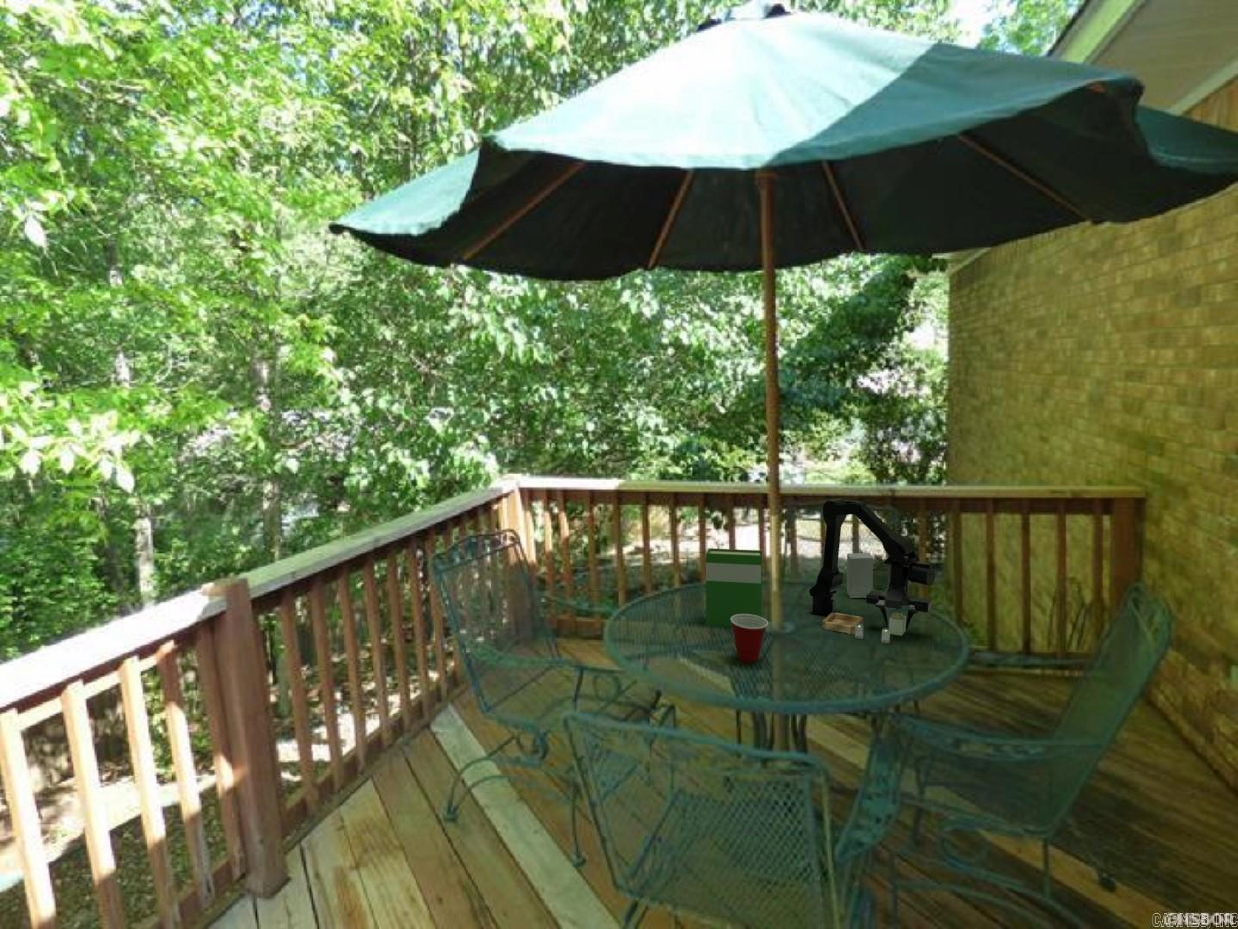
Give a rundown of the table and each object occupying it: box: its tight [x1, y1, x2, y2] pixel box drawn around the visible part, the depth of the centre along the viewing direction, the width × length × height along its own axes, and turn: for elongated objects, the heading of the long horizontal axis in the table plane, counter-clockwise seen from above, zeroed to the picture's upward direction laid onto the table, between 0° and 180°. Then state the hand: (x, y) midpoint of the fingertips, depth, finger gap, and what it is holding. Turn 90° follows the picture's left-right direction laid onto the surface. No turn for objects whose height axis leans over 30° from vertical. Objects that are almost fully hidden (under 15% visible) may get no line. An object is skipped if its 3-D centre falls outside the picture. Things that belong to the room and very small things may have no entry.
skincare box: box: [846, 552, 874, 599], centre depth 276 cm, size 8×7×16 cm
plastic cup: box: [730, 614, 769, 664], centre depth 219 cm, size 11×11×12 cm
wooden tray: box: [821, 612, 864, 636], centre depth 246 cm, size 10×11×2 cm
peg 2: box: [880, 627, 891, 645], centre depth 232 cm, size 2×2×4 cm
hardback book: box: [705, 547, 763, 628], centre depth 250 cm, size 18×7×24 cm, turn 78°
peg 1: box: [854, 624, 864, 640], centre depth 236 cm, size 2×2×4 cm
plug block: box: [888, 611, 907, 637], centre depth 241 cm, size 4×5×6 cm
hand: (897, 627), depth 241 cm, fingers open, 6 cm apart
